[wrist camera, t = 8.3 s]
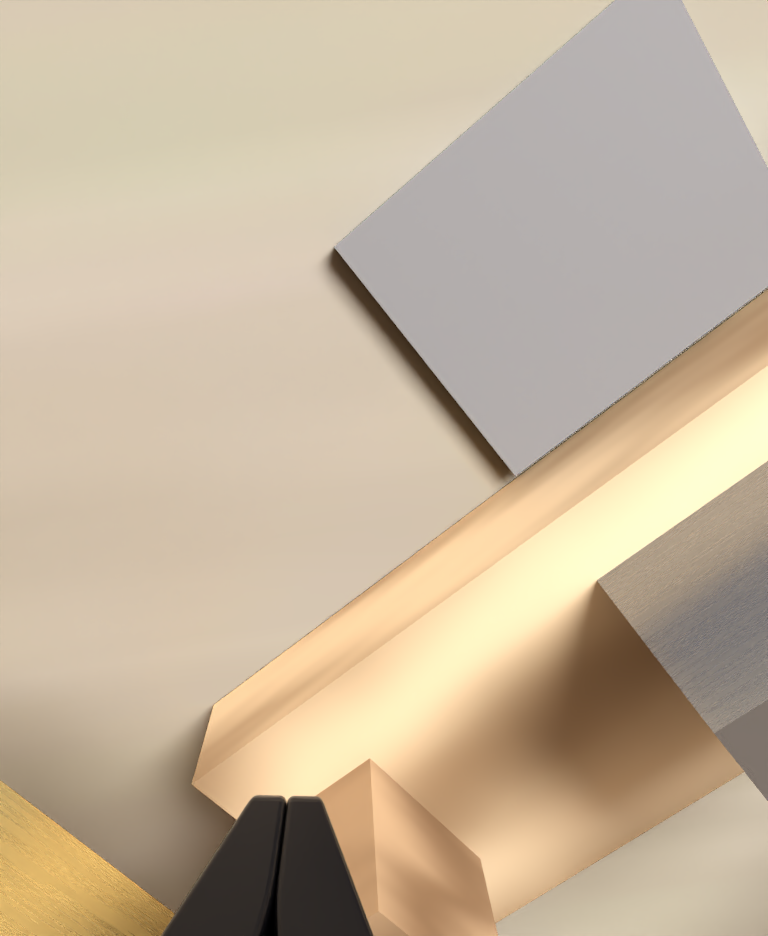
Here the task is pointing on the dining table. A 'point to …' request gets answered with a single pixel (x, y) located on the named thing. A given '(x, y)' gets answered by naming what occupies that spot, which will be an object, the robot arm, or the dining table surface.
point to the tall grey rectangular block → (710, 614)
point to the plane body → (509, 670)
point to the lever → (64, 882)
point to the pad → (575, 231)
